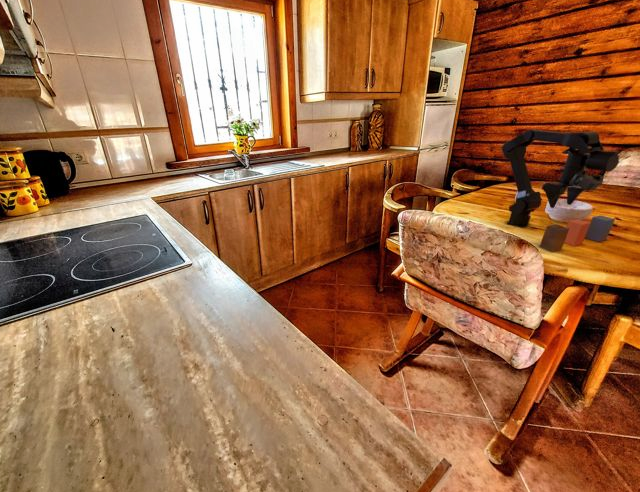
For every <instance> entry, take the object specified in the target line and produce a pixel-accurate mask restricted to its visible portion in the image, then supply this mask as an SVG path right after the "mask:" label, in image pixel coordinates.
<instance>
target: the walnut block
mask: <svg viewBox="0 0 640 492" xmlns="http://www.w3.org/2000/svg"><path fill="white" fill-rule="evenodd" d="M569 229H570V228H567V227H566V226H563V225H560V224H558V223H555V224H548V225H546V227H545V230H544V232H543V235H542V237H541V238H542V239H541V241H540V245H539V248H541V249H543V250H546V251H549V252H551V253H555V252H558V251H562V249H563V247H564V245H565V243H564V242H565V239H566V236H567V234H568V231H569Z"/></svg>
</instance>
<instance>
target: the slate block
mask: <svg viewBox="0 0 640 492" xmlns="http://www.w3.org/2000/svg"><path fill="white" fill-rule="evenodd" d="M615 221H616V218H612V217H609V216H604V215H596V216H592V217H591V220H590V222H589V223H591V224H590V226H589V228H588V231H587V233H586V236H585V238H584V239H587V240H591V241H594V242H596V243H600V242H604V241H607V239H608V236H609V234H610V232H611V229H612V227H613V224H615Z"/></svg>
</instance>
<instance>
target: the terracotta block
mask: <svg viewBox="0 0 640 492" xmlns="http://www.w3.org/2000/svg"><path fill="white" fill-rule="evenodd" d="M590 224H591V223H590V222H589V221H586V220H583V219H582V220H578V219H575V220H569V221H568V223H566V226H565V227H567V228H570V229H569V231H568V234H567V236H566V239H565V242H564V244H566V245H569V246H573V247H576V246H580V245H581V246H582V245H583V243H584V241H585V239H586V238H585V236H586V233H587V231H588V228H589V226H590Z"/></svg>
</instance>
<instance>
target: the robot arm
mask: <svg viewBox="0 0 640 492" xmlns="http://www.w3.org/2000/svg"><path fill="white" fill-rule="evenodd" d="M600 140H601V139H600V135H599V133H598V132H597V131H580V132H578V131H577V132H561V131H553V130H543V129H542V130H541V129H528V130H526V131H525V132H523V133H521V134H519V135H518V136H516V137H514V138H512V139H510V140H507V141H505V142H504V143H503V145H502V146H501V152H502V154H503V156H504V158H505V159H507V160H508V161H509V163H510V166H511V167H510V168H511V170H512V174H513V179H514V182H515V185H516V186H515V187H516V189H517V190H516V191H518V194H517V197H516V202H515V203H513V204H512V205H509V206H508V211H509V212H510V216H509V219H508V221H507V223H506V225H511V226H515V227H520V228H525V227H527V226H528V225H529V224H530V221H531V218H532V215H531V213H533V212H535V211H536V210H537V209H539V208H540V206H541V205H542V201H543V199H542V196H541V192H540V191H536V190H534V189H533V186H532V183H531V178H530V174H529V172H528V171H529V170H528V168H527V164H526V160H525V157H526V155H527V154H526V153H527V147H529V146H531V145H532V144H533V142H534V141H536V142H537V141H539V142H545V143H546V142H547V143H555V144H561V145H562V146H565V147H566V148H567V149H565V150H563V151H561V154H563V155H567V157H566V161H565V164H564V166H563V168H560V169H559V172H560V173H561V175H560V177H559V178H557V179H556V181H548V182H545V183H543V184H542V187H541V190H543V192H544V193H545V195H546V197H547V202H548V201H549V205H550V207H551V208H554V207H555V205H556V203H557V201H558V199H560V197H561V196H563V195H565V194H566V199H567V204H568V205H571V204H572V203H573V202H574V201H576V200H577V198H578V197H579V196H580V195H581V194H582V193H583V192H591V191H596V190H597V188H599V186H600V187H601V186H603V183H604V178H605V177H604V176H602V175H600V174H599V175H595V176H592V175H588V173H589V171H588V170H593V171H601V172H609V173H610V172H612V171H614V170H615V169H616V168H617V167H618V165H619V163H620V157H619V155H618V154H619V151H618V150H605V148H604V147H603V145H602V142H601V141H600Z"/></svg>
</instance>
